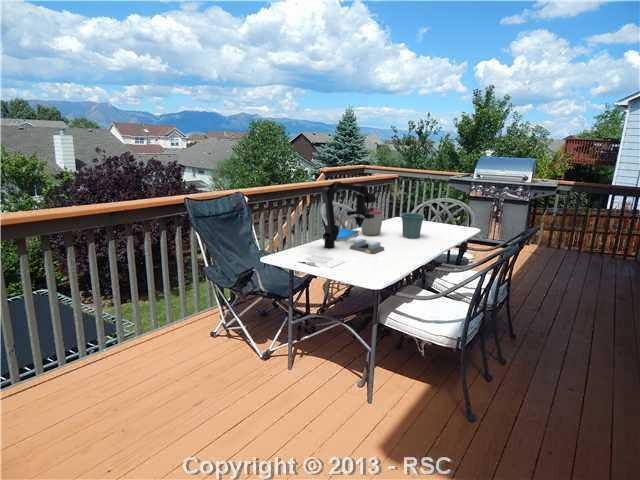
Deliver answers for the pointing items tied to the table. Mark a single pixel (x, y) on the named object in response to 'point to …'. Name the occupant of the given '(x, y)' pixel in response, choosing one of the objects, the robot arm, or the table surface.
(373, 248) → the panel
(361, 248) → the rack
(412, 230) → the flower pot
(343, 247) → the table surface
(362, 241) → the fitted panel
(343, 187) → the robot arm
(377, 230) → the grey plant pot
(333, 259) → the tray
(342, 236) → the book
